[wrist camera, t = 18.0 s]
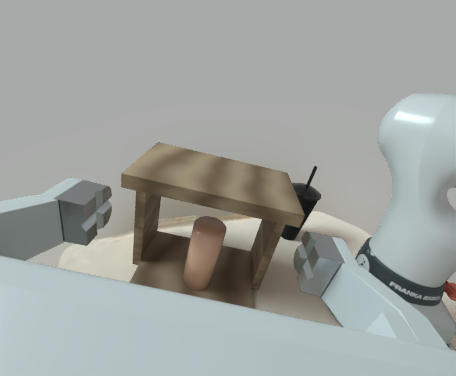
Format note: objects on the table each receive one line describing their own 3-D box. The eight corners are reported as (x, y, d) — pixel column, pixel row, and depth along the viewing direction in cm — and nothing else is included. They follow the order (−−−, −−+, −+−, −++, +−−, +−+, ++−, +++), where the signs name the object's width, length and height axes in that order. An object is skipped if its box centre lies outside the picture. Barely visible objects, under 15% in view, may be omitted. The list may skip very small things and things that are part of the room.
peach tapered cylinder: (212, 269, 45) (226, 220, 39) (209, 292, 40) (225, 240, 35) (185, 264, 45) (196, 213, 39) (179, 287, 40) (191, 233, 34)
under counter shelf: (255, 256, 52) (287, 172, 43) (259, 314, 40) (304, 215, 30) (150, 233, 51) (158, 142, 42) (119, 285, 39) (121, 173, 29)
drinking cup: (268, 233, 61) (295, 163, 52) (278, 221, 67) (304, 157, 58) (295, 248, 58) (329, 177, 49) (303, 234, 64) (335, 169, 55)
